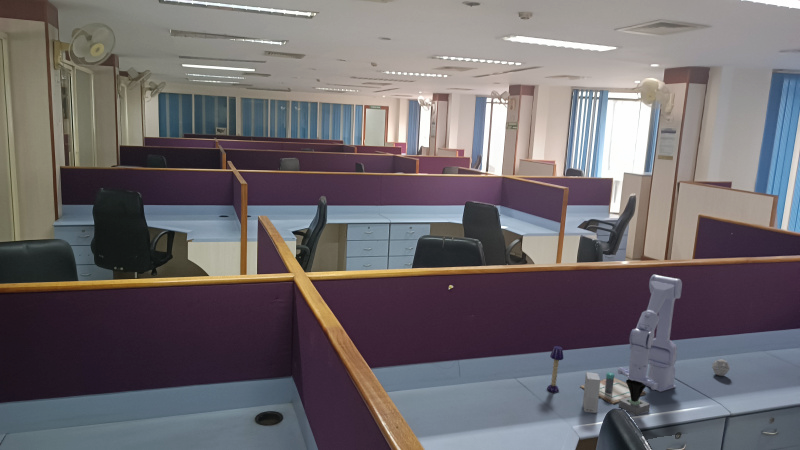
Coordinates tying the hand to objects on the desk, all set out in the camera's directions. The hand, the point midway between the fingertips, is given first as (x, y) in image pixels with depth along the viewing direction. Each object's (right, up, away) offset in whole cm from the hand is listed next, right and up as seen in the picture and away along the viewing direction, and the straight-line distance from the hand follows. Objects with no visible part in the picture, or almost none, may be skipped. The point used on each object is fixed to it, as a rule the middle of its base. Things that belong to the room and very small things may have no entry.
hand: (634, 400), depth 197 cm
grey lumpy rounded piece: (+47, 0, +31) cm, 56 cm away
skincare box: (-16, -3, 0) cm, 16 cm away
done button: (0, -4, +1) cm, 4 cm away
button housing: (0, -3, +1) cm, 3 cm away
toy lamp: (-25, 0, +13) cm, 28 cm away
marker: (-5, 0, +11) cm, 12 cm away
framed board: (-2, -1, +14) cm, 14 cm away
